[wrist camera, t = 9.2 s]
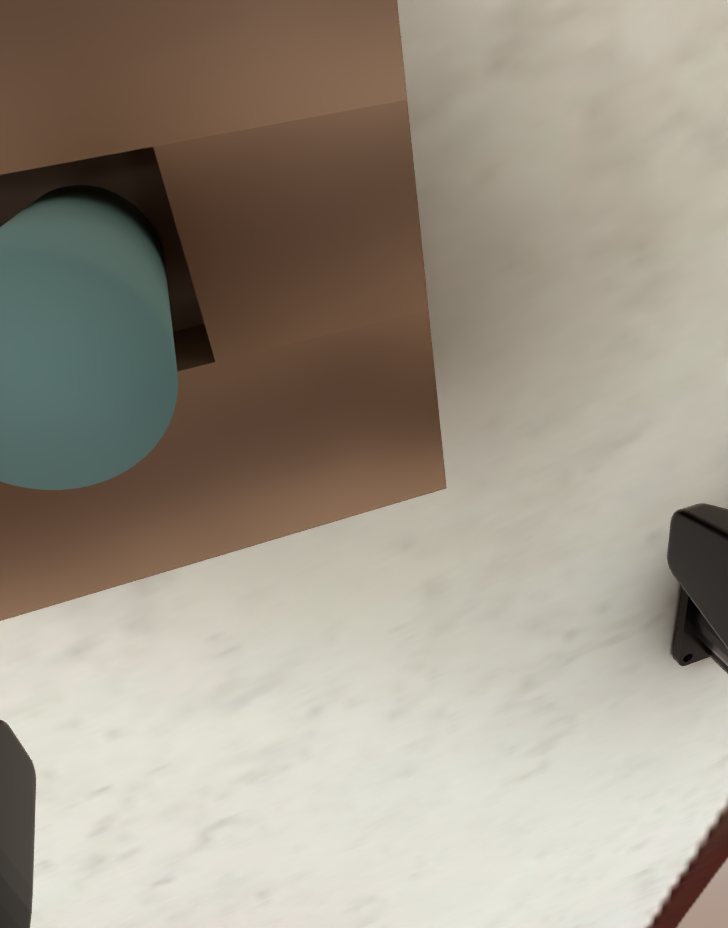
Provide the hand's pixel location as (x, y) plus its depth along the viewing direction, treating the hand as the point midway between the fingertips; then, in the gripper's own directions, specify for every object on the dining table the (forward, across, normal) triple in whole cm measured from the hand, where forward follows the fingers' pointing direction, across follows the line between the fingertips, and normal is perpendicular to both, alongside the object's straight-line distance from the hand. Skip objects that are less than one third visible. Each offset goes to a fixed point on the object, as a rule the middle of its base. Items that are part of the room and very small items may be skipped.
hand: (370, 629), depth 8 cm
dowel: (+10, +3, -4) cm, 11 cm away
